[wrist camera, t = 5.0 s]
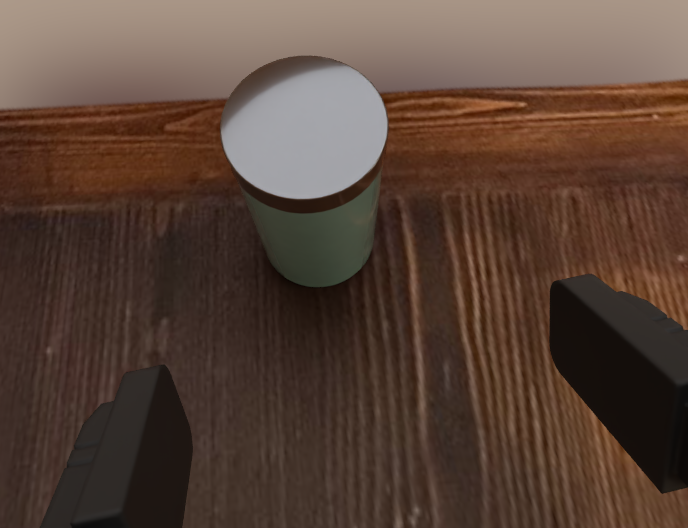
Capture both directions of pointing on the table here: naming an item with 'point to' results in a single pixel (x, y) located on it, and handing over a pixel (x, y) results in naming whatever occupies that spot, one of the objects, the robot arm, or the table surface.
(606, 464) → the table surface
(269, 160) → the jar
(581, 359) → the robot arm
